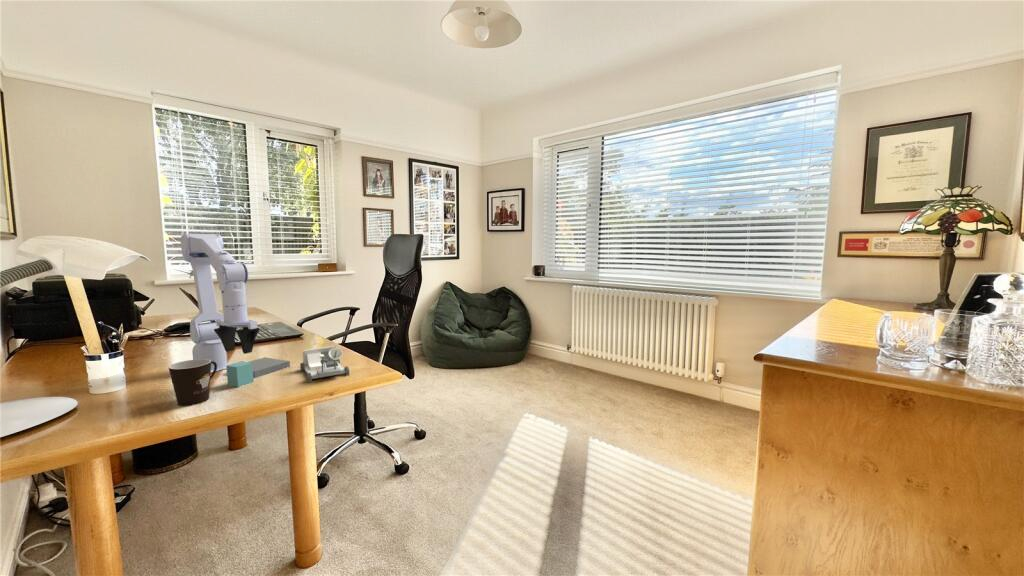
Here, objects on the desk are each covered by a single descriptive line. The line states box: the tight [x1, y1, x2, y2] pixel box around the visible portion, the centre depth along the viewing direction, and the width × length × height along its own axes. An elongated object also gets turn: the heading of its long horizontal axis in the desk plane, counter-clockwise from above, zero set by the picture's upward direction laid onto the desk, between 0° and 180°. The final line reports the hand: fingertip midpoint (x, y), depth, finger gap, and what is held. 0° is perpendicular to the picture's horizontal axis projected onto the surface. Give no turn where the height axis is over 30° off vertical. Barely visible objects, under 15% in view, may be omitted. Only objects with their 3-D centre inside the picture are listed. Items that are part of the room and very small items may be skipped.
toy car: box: [299, 345, 350, 383], centre depth 125 cm, size 18×10×12 cm
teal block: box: [226, 360, 254, 388], centre depth 115 cm, size 4×4×6 cm
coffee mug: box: [168, 359, 217, 407], centre depth 104 cm, size 12×9×10 cm
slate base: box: [248, 357, 291, 379], centre depth 128 cm, size 12×12×2 cm
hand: (238, 351), depth 115 cm, fingers open, 7 cm apart
